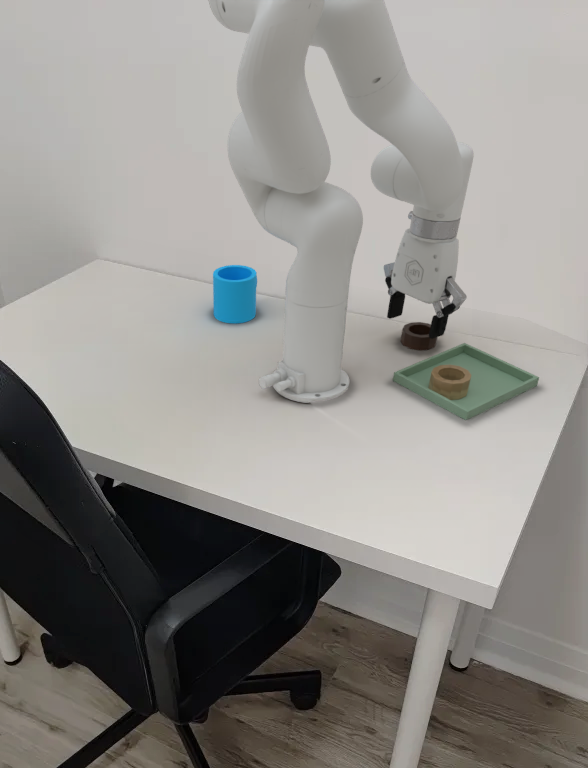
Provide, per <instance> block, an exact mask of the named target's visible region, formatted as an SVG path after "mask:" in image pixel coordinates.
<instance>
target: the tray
mask: <svg viewBox="0 0 588 768" xmlns="http://www.w3.org/2000/svg"><path fill="white" fill-rule="evenodd" d="M440 365H455V366H460V367H462V368H464V369H466V370H468V371H469V372H470V374H471V380H470V385H469V389H468V393H467V395H466V396H465V397H463V398H461V399H458V400H449V399H448V398H446V397H444V396H442V395H440V394H438V393H436V392H434V391H432V390H431V389H429V382H430V377H431V372H432V370H433V368H435V367H437V366H440ZM539 381H540V377H539V376H537V375H535V374H533V373H531V372H529V371H527V370H524V369H522V368H520V367H519V366H515V365H513V364H511V363H509V362H508V361H505V360H503V359H500V358H499V357H497V356H494V355H492V354H490V353H488V352H485V351H483V350H481V349H479V348H476V347H475V346H472V345H470V344H468V343H466V342H464V343H461V344H458V345H456V346H453V347H451V348H449V349H446V350H444V351H442V352H439V353H437V354H435V355H432V356H430V357H427V358H425V359H423V360H420V361H418V362H415V363H413V364H410V365H408V366H406V367H404V368H401V369H398V370H397V371H394V372H393V377H392V382H394V383H396V384H398V385H399V386H401V387H404V388H406V389H407V390H409V391H410V392H412V393H415V394H416V395H418V396H420V397H422V398H424V399H425V400H427V401H428V402H429V401H430V402H431V403H433V404H434V405H436V406H439V407H440V408H442V409H444V410H445V411H447V412H450V413H451V414H453V415H456V417H458V418H460V419H462V420H464V421H468V420H470V419H472V418H475V417H476V416H478V415H480V414H482V413H484V412H486V411H488V410H491V409H493V408H494V407H496V406H498V405H500V404H502V403H504V402H507V401H508V400H511V399H513V398H515V397H517V396H519V395H521V394H523V393H525V392H528V391H529V390H531V389H534V388H535V387H537V386H538V383H539Z"/></svg>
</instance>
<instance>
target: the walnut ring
mask: <svg viewBox="0 0 588 768" xmlns="http://www.w3.org/2000/svg"><path fill="white" fill-rule="evenodd" d="M430 327H431V323H429V322H422V321H415V322H413V321H412V322H409V323H406V324H404V325H403V327H402V330H401V337H400V343H401V345H402V346H403V347H405V348H407V349H410V350H414V351H428V350H429V351H430V350H431V349H434V348H435V347H436V345H437V342H438V337H436V338H433V339H431V338H429V332H430Z"/></svg>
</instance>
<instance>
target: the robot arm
mask: <svg viewBox="0 0 588 768" xmlns="http://www.w3.org/2000/svg"><path fill="white" fill-rule="evenodd" d="M207 1H208V5H209V9H210V10H211V13H212V14H213V16H214V18H215V19H216V21H217V22H218V23H219V24H221V26H222V27H224V28H226V29H228V30H230V31H233V32H237V33H241V34H242V33H243V34H248V35H247V39H246V42H245V46H244V48H243V52H242V55H241V58H240V62H239V65H238V71H237V76H236V94H237V98H238V102H239V105H240V109H241V112H240V113H239V114H238V115H237V116H236V118H235V119H234V121H233V122H232V124H231V126H230V129H229V132H228V137H227V158H228V161H229V165H230V167H231V170H232V172H233V174H234V177H235V179H236V181H237V183H238V185H239V187H240V190H241V191H242V193H243V194H244V198H245V200H246V201H247V204H248V206H249V208H250V210H251V211H252V214H253V215H254V217H255V219H256V221H257V222H258V224H259V225H260V226H261V227H262V229H263V230H264V231H266V232H267V233H268V234H270V235H272V236H273V237H275V238H277V239H279V240H281V241H284V242H286V243H288V244H290V245H292V246H293V247H295V248H296V250H297V253H296V257H295V259H294V261H293V262H292V264H291V266H290V268H289V270H288V272H287V276H286V280H285V302H284V324H283V343H282V344H283V346H282V347H283V348H282V360H280V361H278V362H277V369H274V371H272V373H268V374H266V375H264V376H261V377H259V378H258V384H259V385H258V386H259V387H260V388H261V389H263V390H265V389H267V388H268V389H269V388H270V387H273V389H274V390H275V391H276V393H277V394H279V395H280V396H282V397H283V398H286V399H288V400H291V401H293V402H298V403H303V404H311V403H313V402H314V403H315V402H326V401H330V400H334V399H337V398H339V397H341V396H343V395H344V394H345V393H346V392H347V391H348V389H349V388H350V383H351V382H350V377H349V374H348V373H347V372H346V371H345V370H344V369H343V368H342V363H343V353H344V352H343V351H344V345H345V334H346V333H345V332H346V322H347V311H348V301H349V291H350V284H351V283H350V282H351V274H352V267H353V262H354V257H355V255H356V250H357V248H358V244H359V241H360V239H361V234H362V230H363V224H364V214H363V210H362V207H361V205H360V203H359V202H358V200H357V199H356V198H355V197H354V195H352V194H351V193H350V192H348V191H347V190H346V189H344V188H342V187H339V186H337V185H334V184H332V183H329V182H327V181H326V180H327V178H328V177H329V173H330V171H331V165H332V163H331V162H332V161H331V160H332V159H331V152H330V147H329V143H328V140H327V137H326V134H325V131H324V129H323V126H322V123H321V121H320V118H319V115H318V112H317V110H316V107H315V104H314V101H313V99H312V96H311V93H310V89H309V86H308V83H307V79H306V68H305V66H306V59H307V56H308V51H309V47H310V46H311V47H315V48H321V49H322V50H323V51H324V52H325V53H326V55H327V58H328V60H329V63H330V65H331V67H332V70H333V72H334V75H335V77H336V79H337V81H338V84H339V86H340V88H341V91H342V94H343V96H344V98H345V101H346V103H347V107H348V108H349V110H350V111H351V113H352V115H354V116H355V117H356V118H357V119H358V120H359V121H360V122H361V123H363V124H364V126H366V127H367V128H369V129H370V130H371V131H372V132H374V133H375V134H377V135H379V136H381V137H382V138H383V139H385V140H386V141H388V142H389V143H390V145H388V146H386V147H384V148H383V149H381V150H380V151H379V152H378V153H377V154H376V156H375V157H374V159H373V161H372V163H371V167H370V179H371V182H372V184H373V186H374V187H375V189H376V191H378V192H380V193H381V194H383V195H385V196H387V197H389V198H392V199H395V200H398V201H400V202H405V203H407V204H410V205H412V206H413V208H412V210H410V211H409V213H408V216H407V217H408V220H410V225H409V228H407V229H405V232H404V233H403V235H402V237H401V240H400V243H399V246H398V248H397V252H396V256H395V259H394V262H389V263H386V264H384V265H383V272H384V277H385V279H384V281H385V285H386V286H387V289H388V290H387V294H388V295H389V296H390V297H389V302H388V309H387V313H386V318H387V319H389V320H391V319H394V318H398V317H401V316H402V315H403V311H404V305H405V300H406V296H409V297H410V298H413V299H415V300H417V301H420V302H422V303H425V304H429V305H432V306H433V309H434V312H435V314H434V315H433V316H432V318H431V323H430V324H431V327H430V332H429V338H431V339H433V338H436V337H437V338H439V337H442V336H444V334H445V332H446V329H447V325H448V319H449V316H450V315H452V314H453V313H455V312H456V311H457V310H459V309H460V308H461V306H462V305H463V304H464V302H466V300H467V299H468V298H467V294H466V293H465V292H464V291H463V289H462V288H461V287H460V286H459V284H458V283H457V282H456V277H457V271H458V263H459V248H460V247H459V245H460V244H459V239H458V238H457V237H458V231H459V227H460V222H461V217H462V213H463V208H464V204H465V203H464V202H465V199H466V194H467V190H468V185H469V181H470V177H471V172H472V167H473V162H474V157H475V154H474V153H475V152H474V149H473V148H472V146H471V145H470V144H467V143H465V142H461V141H457V139H456V136H455V134H454V131H453V129H452V127H451V125H450V124H449V122H448V121H447V119H446V118H445V117H444V115H443V114H442V113H441V111H440V110H439V109H438V108H437V107H436V106H435V105H434V103H433V102H432V100H431V99H430V98H429V97H428V96H427V95H426V93H425V92H424V91H423V90H422V89H421V87H420V86H419V85H418V84H417V83H416V82H415V81H414V80H413V78H412V76H410V75H411V74H410V73H409V70H408V68H407V65H406V62H405V59H404V56H403V54H402V50H401V48H400V44H399V41H398V38H397V35H396V32H395V29H394V26H393V23H392V20H391V17H390V14H389V11H388V7H387V5H386V2H385V0H207ZM451 296H452V299H451V300H452V301H451V300H450V298H451Z"/></svg>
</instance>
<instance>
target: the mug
mask: <svg viewBox="0 0 588 768" xmlns="http://www.w3.org/2000/svg"><path fill="white" fill-rule="evenodd" d="M257 288H258V276H257V271H256V269H254V268H252V267H250V266H247V265H241V264H230V265H224V266H223V265H222V266H220V267H218V268H216V269H215V270H214V271H213V273H212V298H213V299H212V301H213V303H212V304H213V305H212V306H213V317H214V318H215V320H217V321H219V322H222V323H224V324H225V323H226V324H245V323H247V322H250V321H252V320H253V319H254V318H255V317H256V314H257Z"/></svg>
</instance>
